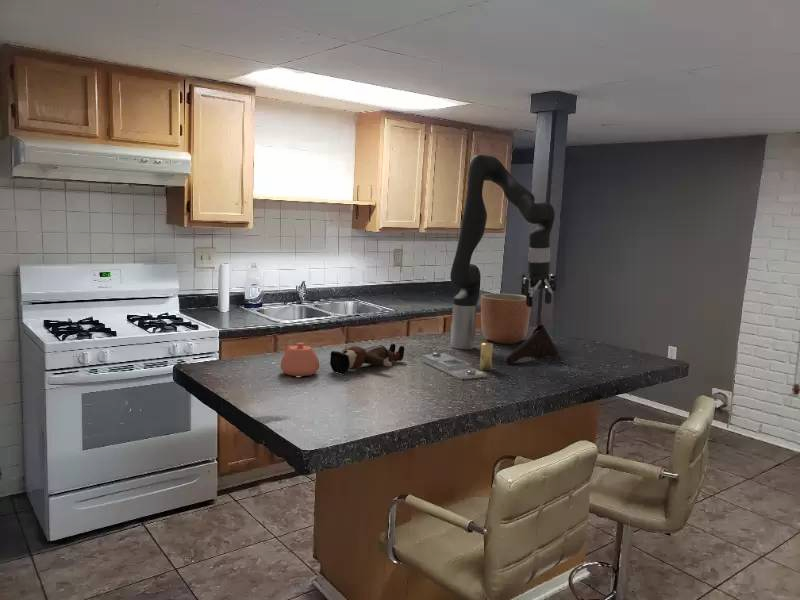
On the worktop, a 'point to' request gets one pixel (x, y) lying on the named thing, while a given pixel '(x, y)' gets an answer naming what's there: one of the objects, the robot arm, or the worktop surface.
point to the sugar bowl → (299, 360)
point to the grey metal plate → (452, 365)
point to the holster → (534, 346)
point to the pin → (486, 356)
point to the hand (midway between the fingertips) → (538, 305)
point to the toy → (364, 357)
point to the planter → (504, 317)
